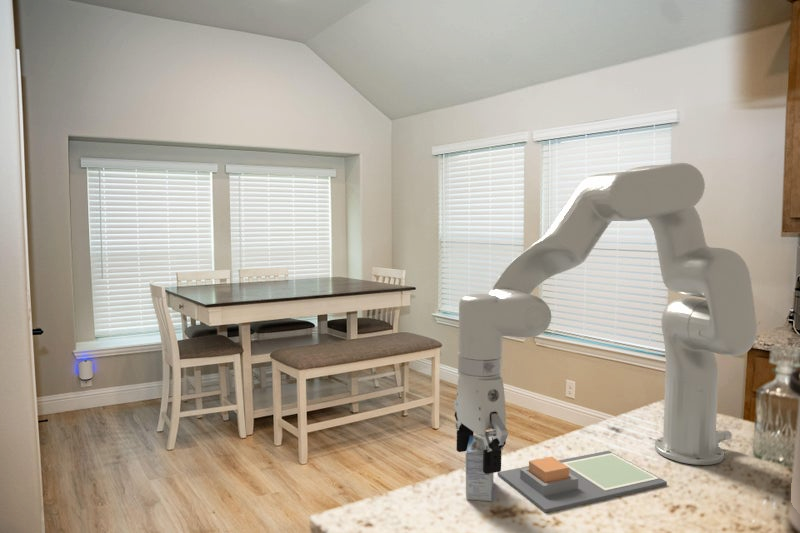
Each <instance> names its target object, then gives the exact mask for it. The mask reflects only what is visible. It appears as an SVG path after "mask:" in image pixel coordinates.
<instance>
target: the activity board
mask: <svg viewBox="0 0 800 533" xmlns="http://www.w3.org/2000/svg"><path fill="white" fill-rule="evenodd" d="M557 460H558V459H557ZM558 461H560V462H561V463H563V464H565V465H566V466H568V467H569V478H568V479H563V480H558V481H553V482H548V483H544V482H542V481H541V480H540V479H538V478H537V477H535V476H534V475H533V474H531V473H530V472H529V465H528V466H522V467H518V468H513V469H507V470H503V471H502V470H501V471H500V472H497V476H498V477H499V478H501V479H502V480H503V481H504V482H505V483H506V484H508V485H509V486H510V487H511V488H513V489H514V490H516V491H517V492H518V493H520V495H522V496H523V497H524V498H526V499H527V500H528V501H529V502H531V503H532V504H533V505H534V506H535V507H538V509H540V511H542V512H544V513H545V514H546V513H551V512H555V511H560V510H565V509H568V508H572V507H577V506H581V505H586V504H591V503H594V502H599V501H603V500H607V499H613V498H616V497H620V496H624V495H625V496H626V495H628V494H634V493H637V492H638V493H639V492H642V491H647V490H651V489H655V488H659V487H663V486H667V485H668V482H667V480H664V479H663V478H661V477H660V476H657V475H655V474H653V473H651V472H649V471H648V470H646V469H644V468H643V467H640V466H639V465H637V464H635V463H632V462H631V461H629V460H628V459H626V458H623V457H622V456H620V455H618V454H616V453H614V452H612V451H610V450H606V451H600V452H595V453H589V454H584V455H579V456H574V457H568V458H563V459H559V460H558Z"/></svg>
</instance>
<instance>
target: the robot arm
mask: <svg viewBox="0 0 800 533" xmlns="http://www.w3.org/2000/svg"><path fill="white" fill-rule="evenodd" d="M705 185H706V184H705V179H704V176H703V173H701V171H700V169H699V168H697V167H695V166H694V165H692V164H690V163H685V162H677V163H673V162H672V163H665V164H655V165H654V164H653V165H644V166H637V167H634V168H633V167H632V168H629V169H627V170H625V171H618V172H609V173H607V172H606V173H600V174H593V175H590V176H588V177H585V179H583V180H582V181H581V182H580V183H578V185H577V187H576V188H575V190H574V191H573V192H572V194H571V195H570V197H569V198H568V199H567V201H566V203H565V204H564V206H563V207H562V209H561V210H560V211H559V213H558V215H556V217H555V219H554V220H553V222H552V223H551V224H550V226H549V227H548V228H547V230H546V232H545V233H543V235H542V237H541V238H539V239H538V240H536V241H535V242H534V243H533V244H531V245H530V246H528V247H527V248H526V249H525V250H524V251H523V252H521V253H520V254H519V255H518V256H517V257H516V258H514V259H513V260H511V262H510V263H509V264H508V265H507V266H506V267H505V268H504V270H502V272H501V273H500V274H499V276H498V277H497V279H496V281H495V282H494V283H493V285H492V287H491V288H490V290H489V291H488V293H487V294H486V293H485V294H484V293H474V294H473V293H470V294H466V295H464V296H462V297H461V298H460V300H459V303H458V347H457V348H458V350H457V351H458V352H457V353H458V354H457V374H458V377H457V378H458V380H457V387H456V388H457V389H456V399H455V400H453V406H454V417H455V419H456V420H455V421H456V422H455V428H456V447H455V448H456V452H459V453H461V452H462V453H463V452H466V451H467V447H468V443H469V438H470V436H474V433H475V434H476V435H478V436H481V437H482V438H483V441H484V445H485V448H486V450H483V472H484V473H485V474H490V473H493V474H494V473H498V472H501V471H502V451H503V450H504V446H505V445H506V442H507V438H508V435H509V430H508V429H507V428H506V423H507V420H506V416H507V415H506V397H505V395H506V394H505V387H504V381H503V377H502V370H503V369H502V368H503V367H502V362H503V360H502V359H503V357H502V356H503V337H510V338H511V337H512V338H523V339H529V338H534V337H538V336H540V335H543V333H545V332H546V331H547V330H548V328H549V327H550V325H551V322H552V311H551V309H550V307H549V305H548V304H547V303H546V301H544V300H543V299H541V297H539V296H537V295H534V294H532V293H533V292H534V291H535V289H536V288H537V287H539V285H541V284H543V282H545V281H547V279H550V278H551V277H553V276H556V275H558V274H561V273H564V272H567V271H569V270H572V269H574V268H576V267H578V266H580V265H581V264H584V262H585V261H586V259H588V257H589V255H590V254H591V252H592V251H593V249H594V248H595V246H596V245H597V243H598V241H599V240H600V239H601V237H602V235H603V234H604V233H605V232H606V230H607V228H608V226H610V224H611V223H612V222H632V221H633V222H635V221H643V220H647V221H648V223H649V224H650V226H651V229H652V230H653V234H654V239H655V243H656V249H657V255H658V256H657V257H658V262H659V268H660V273H661V278H662V281H663V284H664V286H665V287H666V288H667V289H668V290H670V292H673V293H677V294H681V295H686V296H691V297H681V298H677V299H674V300H672V301H671V302H669V303H668V304H667V305H666V307H665V308H664V310H663V312H662V315H661V330H662V331H661V332H662V336H663V341H664V342H663V343H664V350H665V351H664V352H665V374H664V376H665V377H664V378H665V380H664V401H663V402H664V404H663V405H664V406H663V430H662V431H663V435H662V437H659V438H657V439H656V440H655V441H654V449H655V451H656V452H657V453H658V454H659V455H660V456H663V457H665V458H667V459H670V460H672V461H675V462H678V463H682V464H689V465H695V466H710V465H716V464H719V463H721V462H723V460H724V459H725V458H724V456H725V452H724V450H723V449H722V448H721V447H720V446H719V444H720V443H721V442H722V441H727V440H730V439H732V433H731V431H730V430H728V429H723V430H719V431H718V430H717V415H718V414H717V413H718V389H719V366H718V361H717V358H716V356H715V354H718V355H723V356H727V357H738V356H742V355H745V354H746V353H749V351H750V350H751V349H752V347H753V346H754V344H755V342H756V341H755V340H756V338H757V328H758V327H757V326H758V325H757V317H756V316H757V315H756V308H755V301H754V294H753V286H752V281H751V279H752V278H751V275H750V273H751V272H750V271H749V266H748V265H747V264H746V261H745V260H744V259H743V257H742V256H741V255H740V254H739V253H737V252H736V251H734V250H731V249H728V248H722V247H710V246H708V244H707V242H706V238H705V233H704V228H703V225H702V220H701V217H700V215H699V213H698V210H697V209H696V207H695V206H696V205H697V204H698V203H699V202H700V201H701V200H702V198H703V195H704V193H705V188H706V187H705ZM694 297H698V298H694ZM702 298H703V299H702ZM489 437H493V441H492V442H491V443H490V440H489Z"/></svg>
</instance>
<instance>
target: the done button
mask: <svg viewBox="0 0 800 533" xmlns="http://www.w3.org/2000/svg"><path fill="white" fill-rule="evenodd" d="M528 466H529V472H530V473H531V474H533V475H534V476H535V477H537V478H538V479H540V480H541V481H542V482H544V483H548V482H553V481H558V480H563V479H568V478H569V467H568V466H566V465H565V464H563V463H561V462H560V461H558V459H557V458H555V457H554V456H548V457H544V458H537V459H533V460H528Z"/></svg>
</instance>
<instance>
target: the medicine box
mask: <svg viewBox="0 0 800 533" xmlns="http://www.w3.org/2000/svg"><path fill="white" fill-rule="evenodd" d="M489 440H490V443H491V442H492V441H493V440H494V436H492V437H489ZM483 450H486V448H485V445H484V441H483V438H482V437H481V436H479V435H478V434H476V435H474V434H473V436H470V438H469V443H468V447H467V451H465V497H466V500H469V501H483V502H492V500H493V489H494V488H493V487H494V473H490V474H485V473H484V472H483Z"/></svg>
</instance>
